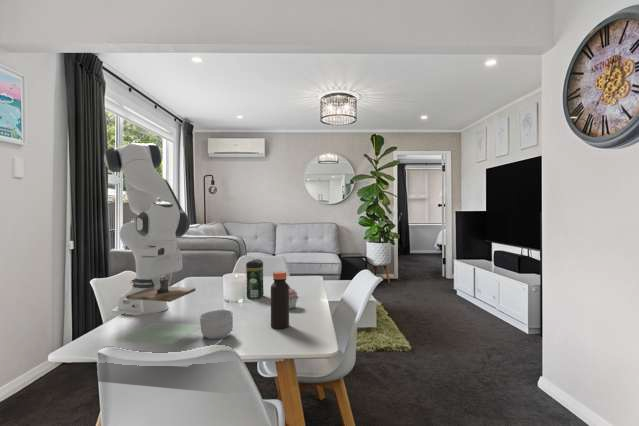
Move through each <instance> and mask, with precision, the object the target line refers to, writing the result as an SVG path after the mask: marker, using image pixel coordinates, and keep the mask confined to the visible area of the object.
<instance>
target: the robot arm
mask: <svg viewBox="0 0 639 426" xmlns="http://www.w3.org/2000/svg"><path fill="white" fill-rule="evenodd" d="M103 159H104V160H103V162H104V164H105V166H106V168H107V169H108V170H109V171H110V172H113V173H121V172H123V175H124V186H125V192H126V196H127V200H128V204H129V209H130V210H131V212H133V214H135V215H137V217H136V219H135V220H132V221H129V222H126V223H123V225H122V226H121V227H120V230H119V239H120V241H121V242H122V244H124V245H125V246H126V247H128V249H129V250H130V251H131V253H132V254H133V258H134V260H135V261H134V262H135V276H136V277H135V278H133V279H131V280H130V284H132V285H131V287H130V288H129V289H128V290H126V291H125V292H124V293H123V294H121V295H120V297H119V298H118V302H117V306H115V307H114V308H112V310H111V313H113V314H121V315H126V316H127V315H128V316H134V317H137V316H139V315H141V316H142V315H144V314H145V315H146V314H154V313H161V312H164V311H167V310H168V309H169V305H168V302H165V301H151V300H137V299H126V296H127V295H130V294H133V293H136V292H139V291H142V290H145V289H148V288H151V287H154V289H155V290H159V289H161V288H162V287H161V286H162V284H160V282H159V280H161V279H167V280H168V286H170V287H171V280H172V278H173V273H177V272H179V271H182V269H183V254H182V252H181V249H180V247H179V245H178V244H177V240H178V239H177V238H181V237H183V236H184V235H185V234H186V233H187V232H188V230H190V226H191V225H190V217H189V216H188V214H187V213H186V212H185V211H184V209H183V207H182V206H181V204H180V202H179V200H178V199H177V198H178V197H177V196H176V194H175V192H174V190H173V189H172V187H171V184H170V183H169V182H168V180H167V179H165V178H164V177H163V176H162V175H161V174H160V173H158V171H157V170H156V169H157V168H159V167H160V166H161V164H162V161H163V152H162V151H161V149H160V147H159V146H158V144H156V143H149V142H148V143H135V142H133V143H129V144H128V143H127V144H126V145H121V146H112V147H109V148H107V149H106V150H105V152H104V156H103ZM157 198H159V199H160V200H161V201H158V200H157ZM124 313H125V314H124Z"/></svg>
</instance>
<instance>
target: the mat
mask: <svg viewBox="0 0 639 426" xmlns="http://www.w3.org/2000/svg"><path fill="white" fill-rule="evenodd" d="M198 329H201V325H200V324H194V323H193V324H190V323H174V322H156V321H154V322H152V323H150V324H148V325H146V326H144V327H142V328H140V329H138V330H136V331H133V332H131V333H129V334H128V335H125V336H123V337H122V338H119V339H117V340H116V342H129V343H131V342H132V343H144V344H145V343H146V344H156V345H159V344H160V345H175V343H177V342H178V341H180V340H182V339H183V338H185V337H186V336H189V335H190V334H192V333H193V332H195V331H197V330H198Z"/></svg>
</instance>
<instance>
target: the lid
mask: <svg viewBox="0 0 639 426" xmlns="http://www.w3.org/2000/svg"><path fill="white" fill-rule="evenodd" d="M159 282H160V284H162V286H161V287H162V288H161V289H159V290H155V289H154V287H151V288H148V289H145V290H142V291H139V292H136V293H133V294H130V295H127V296H126V299H137V300H151V301H165V302H167V303H169V302H170V303H171V302H174V301H175V300H177V299H180V298H182V297H184V296H187V295H189V294H191V293H194V292H195V291H196V287H182V286H171V285H170V286H168V280H167V279H161V280H159Z"/></svg>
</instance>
